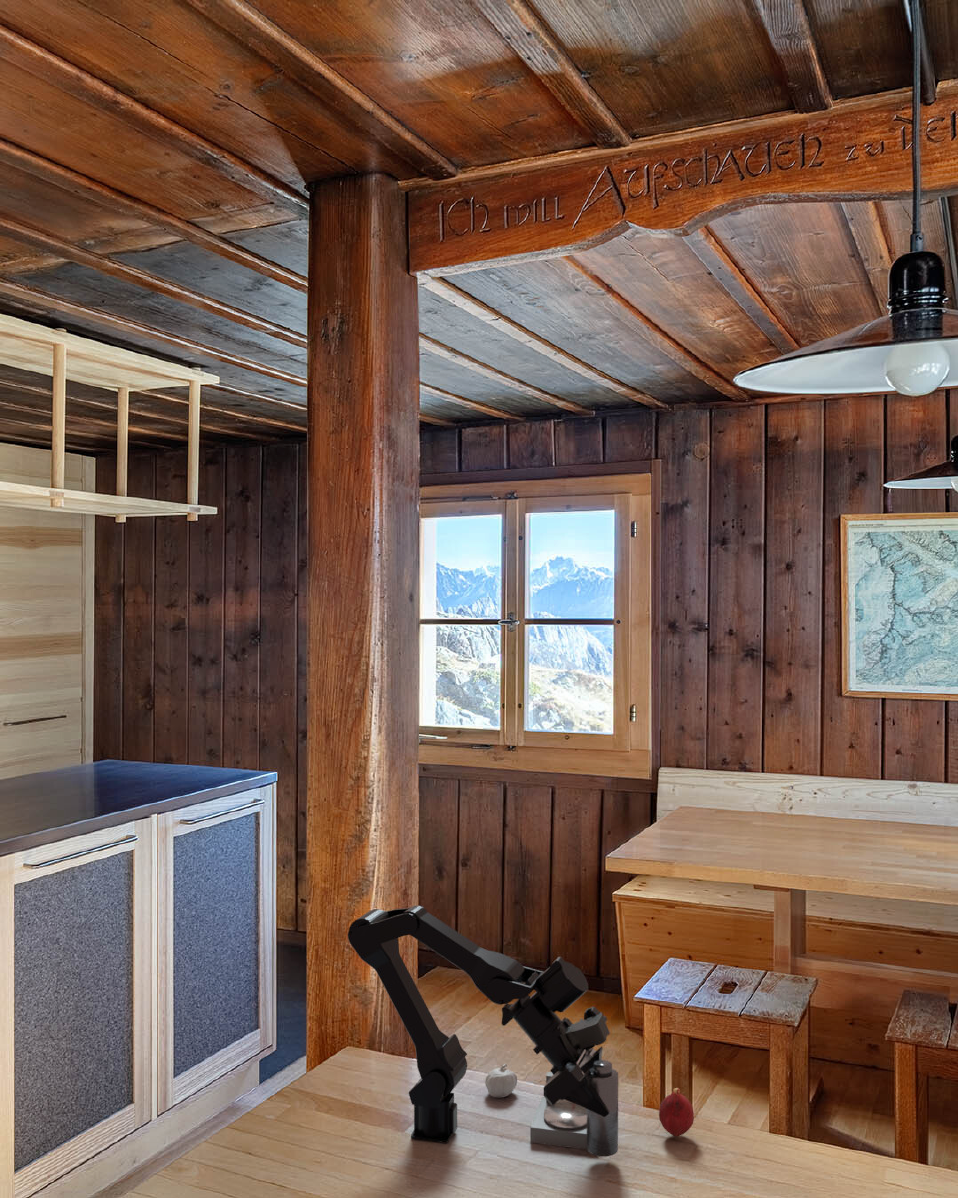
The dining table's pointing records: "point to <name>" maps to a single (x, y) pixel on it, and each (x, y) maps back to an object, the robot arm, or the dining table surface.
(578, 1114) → the scale pan
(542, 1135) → the scale
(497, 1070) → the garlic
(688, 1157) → the dining table surface
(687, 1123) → the onion
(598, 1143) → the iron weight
